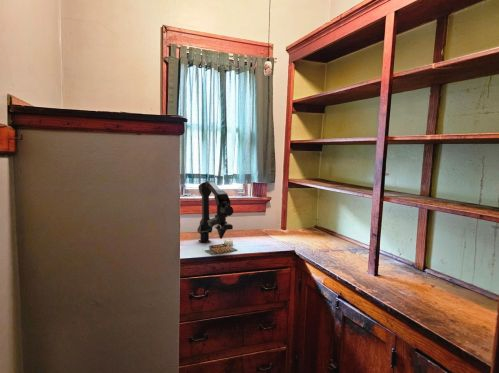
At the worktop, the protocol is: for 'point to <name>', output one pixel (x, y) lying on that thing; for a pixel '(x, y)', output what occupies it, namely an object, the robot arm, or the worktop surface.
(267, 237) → the worktop surface
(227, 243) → the white small block
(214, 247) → the ammunition clip
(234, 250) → the mat
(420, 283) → the worktop surface
